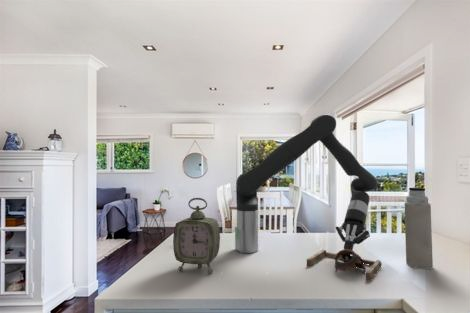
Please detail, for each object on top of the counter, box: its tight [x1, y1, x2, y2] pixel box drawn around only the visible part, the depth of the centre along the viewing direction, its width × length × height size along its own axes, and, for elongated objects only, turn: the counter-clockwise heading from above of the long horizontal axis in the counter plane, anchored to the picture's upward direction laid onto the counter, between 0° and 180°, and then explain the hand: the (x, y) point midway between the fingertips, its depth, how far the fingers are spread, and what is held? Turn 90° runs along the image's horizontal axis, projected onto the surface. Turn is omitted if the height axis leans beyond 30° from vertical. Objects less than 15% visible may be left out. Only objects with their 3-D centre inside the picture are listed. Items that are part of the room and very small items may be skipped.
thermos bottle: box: [403, 187, 434, 270], centre depth 99 cm, size 8×8×28 cm
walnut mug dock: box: [306, 249, 383, 282], centre depth 97 cm, size 16×21×2 cm
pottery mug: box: [333, 248, 367, 272], centre depth 94 cm, size 12×9×8 cm
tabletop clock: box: [172, 197, 221, 275], centre depth 95 cm, size 14×9×25 cm, turn 77°
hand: (347, 251), depth 101 cm, fingers closed
